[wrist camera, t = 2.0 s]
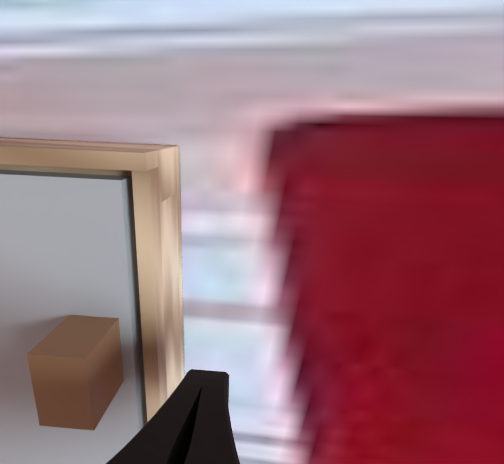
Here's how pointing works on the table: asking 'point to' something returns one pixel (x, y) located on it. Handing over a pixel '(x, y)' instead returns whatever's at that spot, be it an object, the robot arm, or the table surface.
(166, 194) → the birch box
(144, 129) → the table surface
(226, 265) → the table surface
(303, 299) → the table surface
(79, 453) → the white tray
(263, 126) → the table surface
